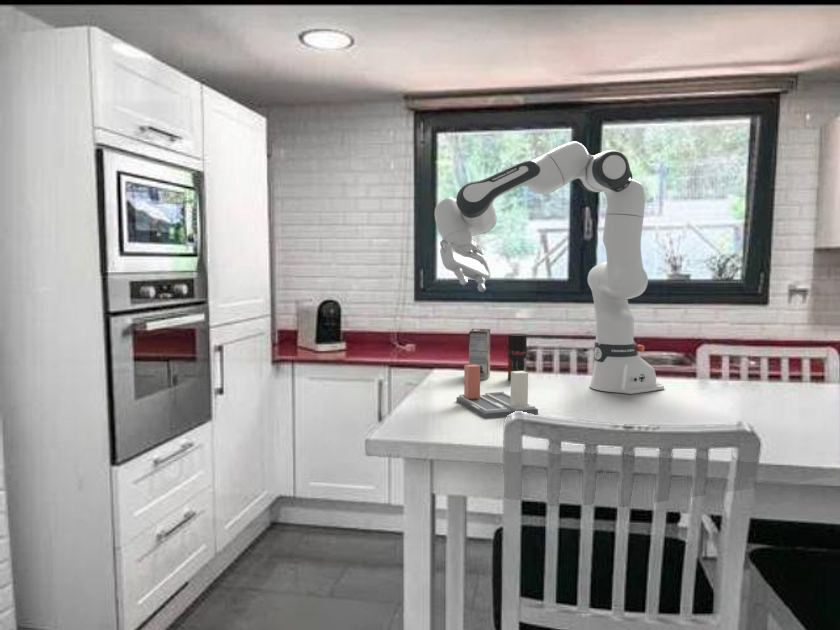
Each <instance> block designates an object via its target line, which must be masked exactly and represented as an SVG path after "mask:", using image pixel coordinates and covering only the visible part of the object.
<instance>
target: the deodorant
mask: <svg viewBox="0 0 840 630" xmlns="http://www.w3.org/2000/svg"><path fill="white" fill-rule="evenodd" d="M527 335H528V334H526V333H508V345H507V346H508V347H507V350H508V351H507V357H508V359H507V361H508V362H507V368H508V369H507V380H508V381H510V380H511V371H525V372H527V344H528V343H527Z"/></svg>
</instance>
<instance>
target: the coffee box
mask: <svg viewBox="0 0 840 630" xmlns="http://www.w3.org/2000/svg"><path fill="white" fill-rule="evenodd" d="M468 334H469V335H468V359H469V360H468V365H475V364H476V365H478V366H480V380H484V381H485V380H486V381H487V380H488V379H489V377H490V376H491V328H472V329H471V330H469V332H468Z"/></svg>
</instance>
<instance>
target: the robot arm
mask: <svg viewBox="0 0 840 630" xmlns="http://www.w3.org/2000/svg"><path fill="white" fill-rule="evenodd" d="M633 178H634V177H633V174H632V171H631V166H630V163H629V160H628V159H627V157H626V155H624V154H623V153H622V152H620V151H619V150H612V149H611V150H609V149H608V150H604V151H602V152H599V153H597V154H595V155H592V154H590V153H589V152H588V149H587V148H586V147H585V146H584V145H583V144H582V143H580V142H578V141H571V142H568V143H564V144H562V145H559V146H558V147H556V148H553V149H551V150H549V151H548V152H546V153H545V154H543V155H541V156H539V157H537V158H534V159H532V160H525V161H522V162H519V163H516V164H515V165H512V166H510V167H508V168H505V169H503V170H502V171H500V172H497V173H494V174H493V175H490V176H489V177H485V178H484V179H479V180H475V181H474V180H473V181H471V182H468V183H467V184H464V185H463V186H462V187H461V188H460V189H459V190H458V192H457V194H456V197H448V198H444V199H442V200H441V201H440V202H438V204H437V205H436V207H435V208H434V220H435V224H436V228H437V231H438V233H439V235H440V236H441V239H442V240H440V242H439V245H440V247H441V248H440V258H441V260H442V261H441V262H442V264H443V266H444V268H445V269H446V270H448V271H451V272H453V274H454V275H455V277H456V278H457V279H458V280H459V283H460V285H462V286H466V285H467V284H468V283H469V281H468V279H471V280H473V281H475V282H476V283H477V286H476V287H477V290H478V291H479V292H481V293H483V292H485V291H486V290H487V288H486V285H485V283H486V281H488V280H489V279H490V278H491V271H490V268H489V266H488V263H487V260H486V258H485V256H484V255H485V251H484V249H483V248H482V247H481V246H480V245H479V244H478V243H477V242H476V240H475V239H474V238H473V237H474V236H479V235H483V234H486V233H488V232H489V231H491V230H493V228H494V227H495V226H496V224H497V219H498V218H497V214H496V210H495V207H494V202H495V200H496V199H498V198H499V197H501V196H503V195H505V194H507V193H509V192H511V191H513V190H515V189H517V188H520V187H526V188H528V189H529V190H531V191H532V192H533V193H536V194H537V195H544V196H545V195H548V194H551V193H554V192H555V191H557V190H559V189H561V188H563V187H564V186H565V185H567V184H569V183H571V182H572V181H576V182H577V183H578V184H579V185H580V186H581V187H582V189H584V190H585V191H587V192H589V193H594V194H598V193H604V195H605V197H606V204H607V206H606V209H605V210H606V211H605V217H604V226H603V233H602V243H603V245H604V247H605V255H606V261H604V262H601V263H599V264H596V265H595V266H593V267H592V268H591V269H590V270H589V272H588V274H587V284H588V287H589V288H590V289H591V294H592V299H593V303H594V311H595V319H596V322H595V323H596V324H595V327H596V328H595V341H594V349H593V355H594V363H593V364H594V365H593V371H592V377H591V380H590V383H589V388H591V389H592V390H593V389H594V390H596V391H602V392H607V393H608V392H609V393H621V394H629V395H634V394H641V393H646V392H652V391H653V392H655V391H660V390H664V389H665V386H664V385H663V383H660V382H657V377H656V376H657V374H656V370H655V368H654V367H653V366H652V365H651V364H650V363H648V361H646V360H644V359H643V358H642V357H641V356H639V353H638V352H642V353H643V352H644V351H645V349H646V348H645V345H643V344H636V343H635V342H634V333H635V331H634V329H635V328H634V327H635V319H634V316H633V315H634V314H633V313H632V312H631V311H632V310H631V308H630V306H629V305H630V304H629V299H634V298H637V297H639V296H641V295H642V294H643V293H644V292H645V291H646V289H647V288H648V283H649V277H648V275H647V274H648V273H646V270H645V269H644V266H643V259H642V249H641V246H642V245H641V244H642V243H641V242H642V232H643V224H644V218H645V216H644V215H645V205H646V203H645V201H646V200H645V199H646V198H645V188H644V186H643V184H642V183H641V182H639V181H638V180H635V179H633Z"/></svg>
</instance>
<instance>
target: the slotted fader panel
mask: <svg viewBox="0 0 840 630" xmlns="http://www.w3.org/2000/svg"><path fill="white" fill-rule="evenodd" d="M456 402H457V403H458V404H461V405H462V406H463V407H466V408H467V409H469V410H471V411H472V412H474V413H476V414H477V415H479V416H480V417H482V418H484V419H494V418H503V417H504V418H505V416H506V417H508V416H507V415H509V414H511V413H513V412H515V411H523V412H527V413H532V414H531V415H538V414H539V409H538V408H537V407H536V406H535V405H531V404H529V403H528V406H526V407H514V406H512V405H511V394H508V393H506V392H505V391H492V392H491V391H490V392H485V394H482V395H481V394H480V398H474V399H468V398H466V397H464V394H459V396H456Z"/></svg>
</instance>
